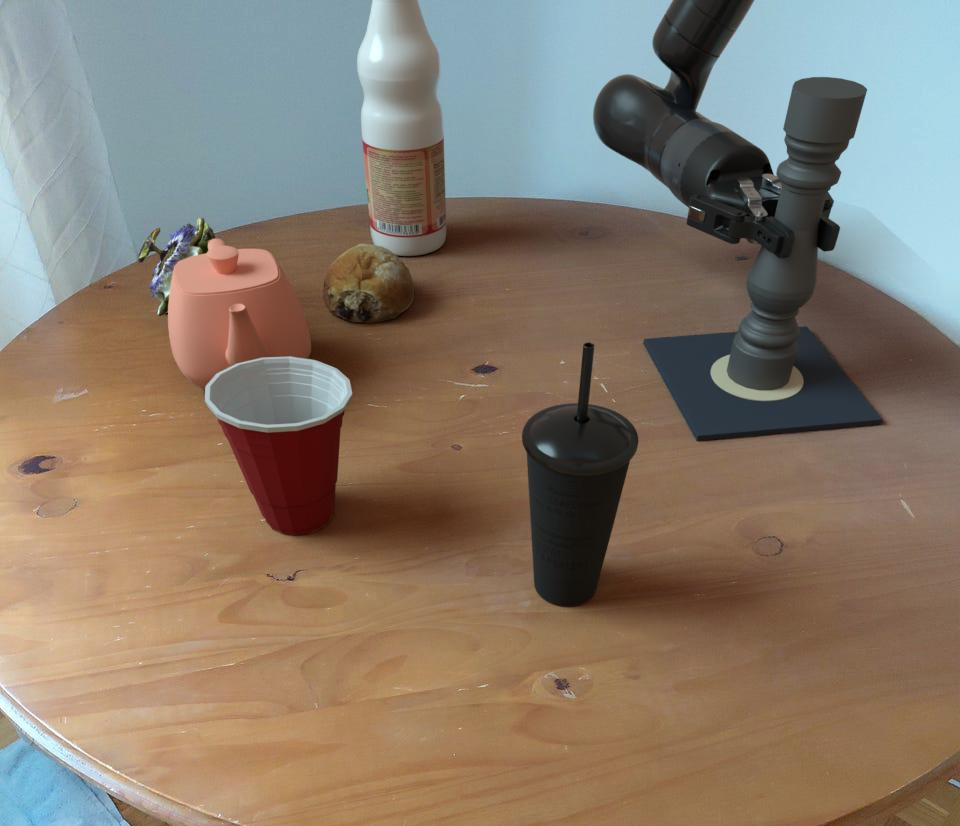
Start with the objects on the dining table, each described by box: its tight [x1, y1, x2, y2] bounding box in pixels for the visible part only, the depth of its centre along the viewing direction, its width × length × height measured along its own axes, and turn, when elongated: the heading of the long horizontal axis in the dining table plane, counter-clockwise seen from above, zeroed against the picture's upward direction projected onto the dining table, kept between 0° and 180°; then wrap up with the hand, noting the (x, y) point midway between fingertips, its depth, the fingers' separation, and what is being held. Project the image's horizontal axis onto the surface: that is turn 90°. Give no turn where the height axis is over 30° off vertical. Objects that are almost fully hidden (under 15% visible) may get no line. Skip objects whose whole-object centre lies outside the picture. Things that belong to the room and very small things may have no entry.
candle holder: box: [727, 76, 868, 390], centre depth 79 cm, size 6×6×25 cm
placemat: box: [643, 326, 884, 442], centre depth 88 cm, size 18×18×1 cm
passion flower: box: [137, 217, 217, 317], centre depth 96 cm, size 11×11×12 cm
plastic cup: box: [204, 357, 353, 536], centre depth 70 cm, size 11×11×12 cm
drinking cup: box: [521, 341, 639, 607], centre depth 61 cm, size 8×8×20 cm
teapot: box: [167, 238, 312, 390], centre depth 85 cm, size 13×20×12 cm, turn 19°
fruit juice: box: [356, 0, 447, 257], centre depth 101 cm, size 9×9×28 cm
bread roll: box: [322, 243, 415, 324], centre depth 98 cm, size 10×10×8 cm
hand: (811, 243), depth 76 cm, fingers open, 3 cm apart
